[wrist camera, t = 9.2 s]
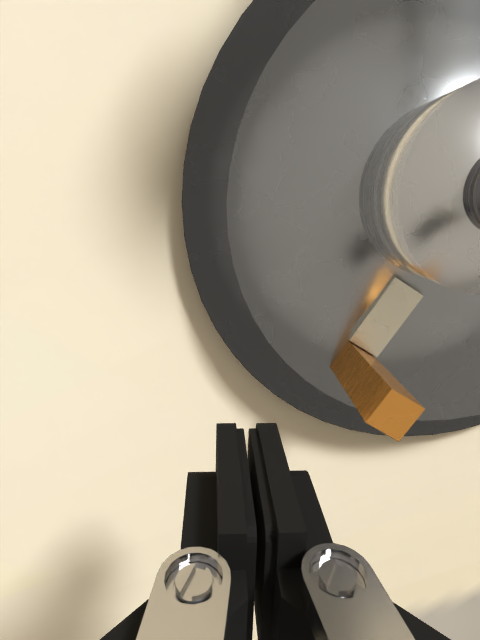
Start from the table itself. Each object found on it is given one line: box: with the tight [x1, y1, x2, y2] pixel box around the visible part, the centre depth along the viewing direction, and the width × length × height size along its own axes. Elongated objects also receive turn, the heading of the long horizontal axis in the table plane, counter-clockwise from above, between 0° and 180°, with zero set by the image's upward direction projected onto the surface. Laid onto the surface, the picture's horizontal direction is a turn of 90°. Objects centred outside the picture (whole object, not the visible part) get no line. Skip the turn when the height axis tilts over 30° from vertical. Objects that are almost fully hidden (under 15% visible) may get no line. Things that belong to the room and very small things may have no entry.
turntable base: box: [182, 0, 480, 436], centre depth 20 cm, size 24×24×1 cm
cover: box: [359, 78, 480, 295], centre depth 15 cm, size 7×7×5 cm
